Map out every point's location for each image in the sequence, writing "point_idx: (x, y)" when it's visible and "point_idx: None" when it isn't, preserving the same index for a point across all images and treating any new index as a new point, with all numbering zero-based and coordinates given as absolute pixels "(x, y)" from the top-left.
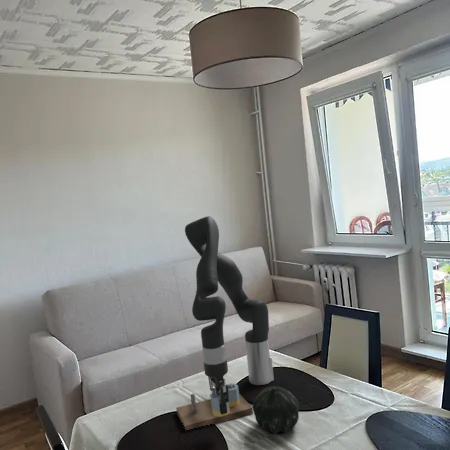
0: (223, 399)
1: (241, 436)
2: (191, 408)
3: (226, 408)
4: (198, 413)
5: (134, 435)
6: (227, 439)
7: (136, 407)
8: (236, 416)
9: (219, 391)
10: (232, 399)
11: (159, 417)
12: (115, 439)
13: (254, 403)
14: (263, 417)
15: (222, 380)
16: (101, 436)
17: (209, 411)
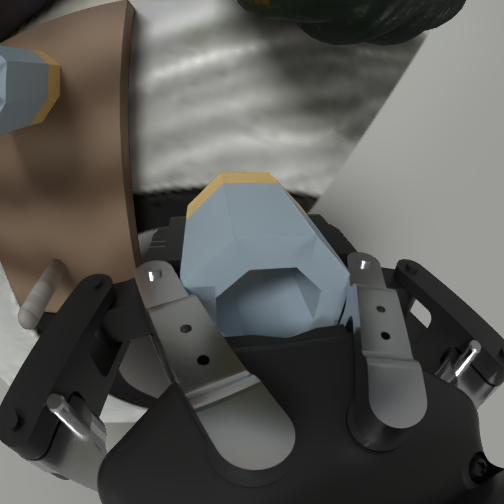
0: (406, 310)
1: (297, 122)
2: (28, 269)
3: (329, 229)
4: (67, 255)
5: (128, 390)
6: (284, 181)
7: (8, 360)
8: (127, 84)
9: (205, 295)
10: (40, 88)
11: None
12: (135, 410)
13: (325, 3)
14: (407, 40)
15: (474, 435)
16: (117, 419)
17: (62, 209)
